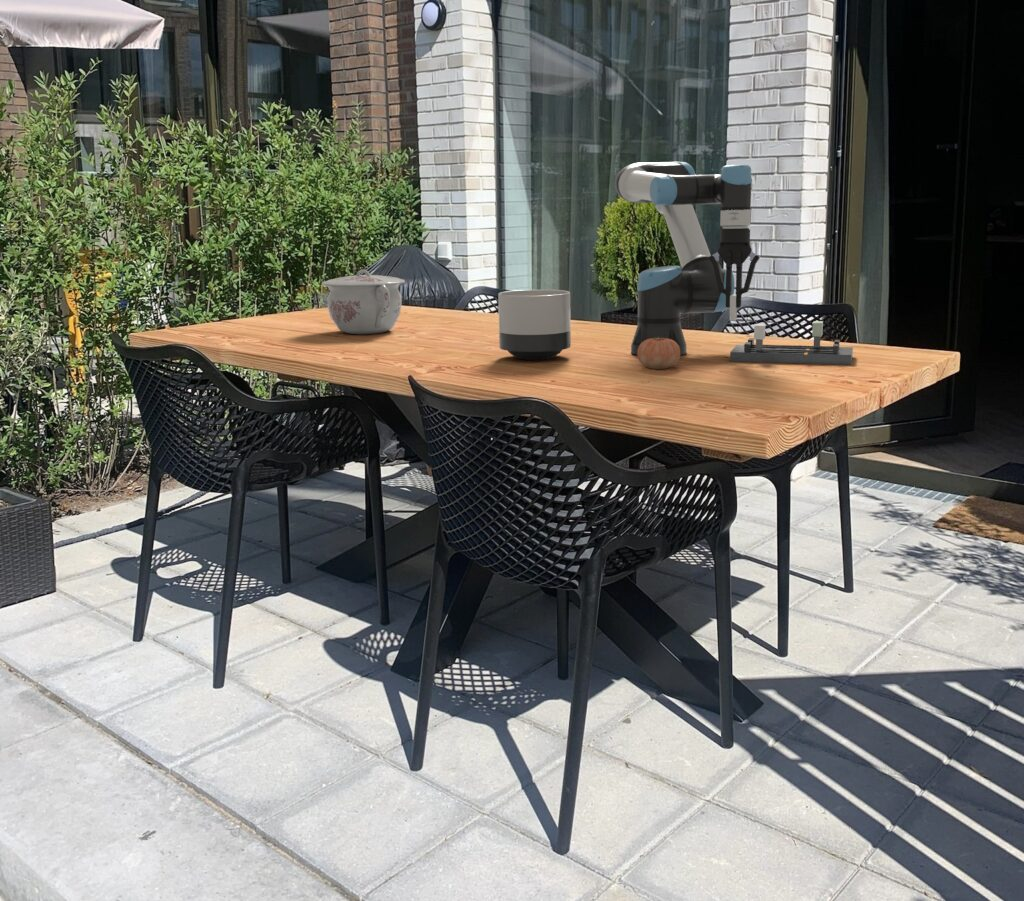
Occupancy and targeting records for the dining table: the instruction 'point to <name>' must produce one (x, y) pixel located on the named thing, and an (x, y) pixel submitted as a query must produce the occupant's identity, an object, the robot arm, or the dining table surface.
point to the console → (792, 354)
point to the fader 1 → (759, 335)
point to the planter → (534, 323)
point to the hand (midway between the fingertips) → (733, 320)
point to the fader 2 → (817, 332)
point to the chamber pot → (364, 302)
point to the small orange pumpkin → (658, 353)
